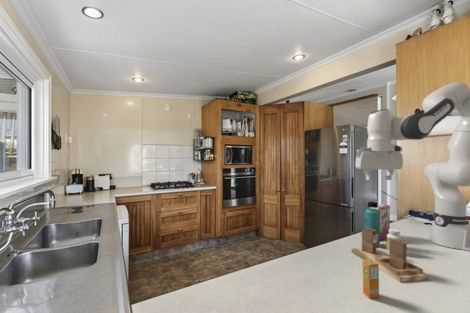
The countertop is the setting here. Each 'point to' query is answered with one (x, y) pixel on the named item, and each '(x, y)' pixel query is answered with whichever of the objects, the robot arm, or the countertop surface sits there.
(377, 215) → the beverage bottle
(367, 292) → the supplement box
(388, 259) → the wooden tray stand
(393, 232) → the supplement bottle
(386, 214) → the candy bar box
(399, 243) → the brown block
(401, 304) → the countertop surface
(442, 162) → the robot arm
